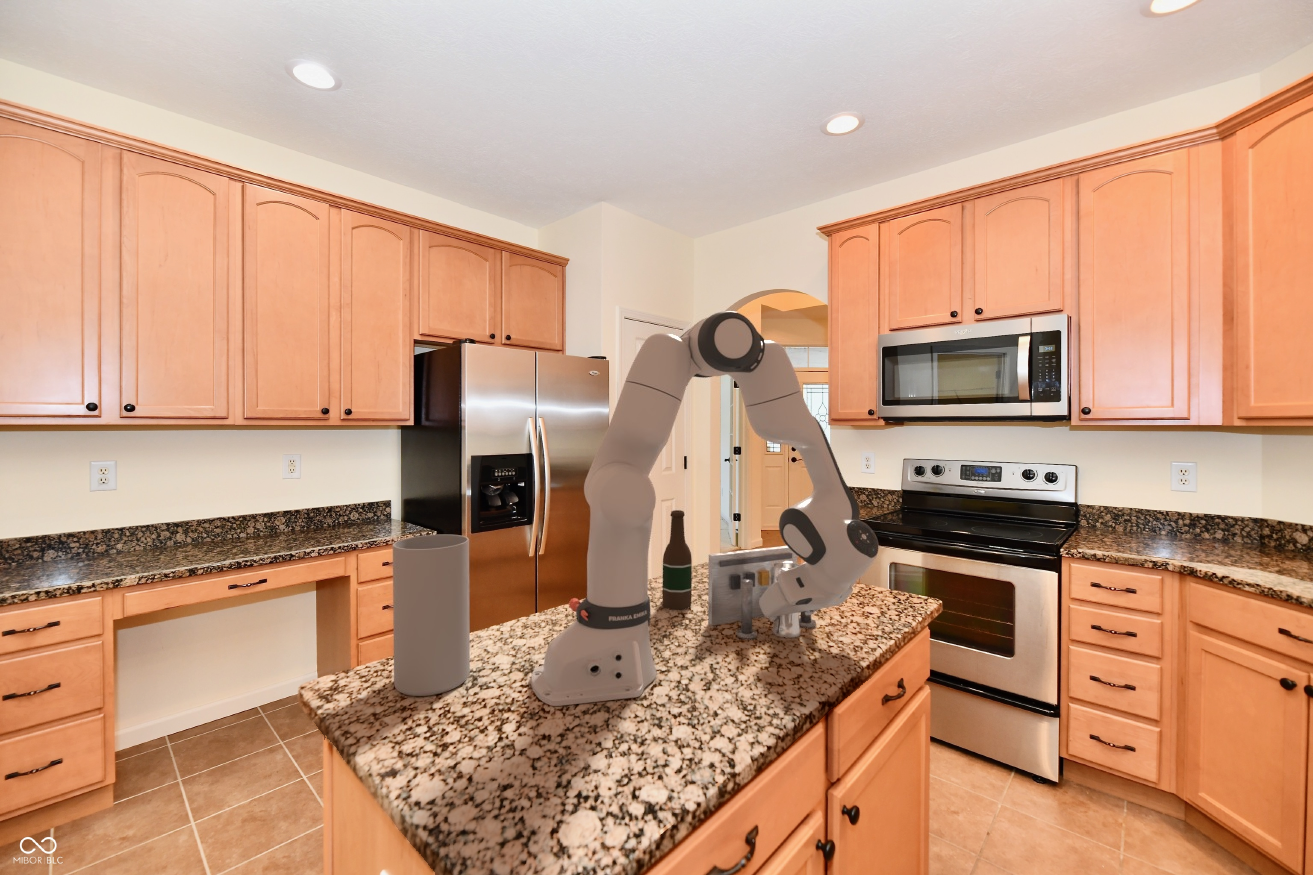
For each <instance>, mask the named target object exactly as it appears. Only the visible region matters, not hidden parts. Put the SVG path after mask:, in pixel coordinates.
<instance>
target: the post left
mask: <svg viewBox="0 0 1313 875" xmlns="http://www.w3.org/2000/svg"><path fill="white" fill-rule="evenodd" d="M752 611H753V581H752V580H748V579H744V580H742V583H741V621H740V628H739V629H737V630H736V637H737V638H739V639H741V640H744V639H747V641H748V640H749V639H750V640H751V639H752V640H755V639H757V638H758V632H757V630H755V629H753V619H752ZM750 640H749V641H750Z"/></svg>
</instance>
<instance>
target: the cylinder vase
mask: <svg viewBox="0 0 1313 875" xmlns="http://www.w3.org/2000/svg"><path fill="white" fill-rule="evenodd" d="M392 591H393V592H392V596H393V597H392V598H393V599H392V603H393V604H392V606H393V608H392V609H393V610H392V611H393V618H392V619H393V625H392V626H393V685H394V687H395V689H396V690H397V691H398V692H400V693H401V694H403V695H407V696H413V697H427V696H434V695H438V694H443V693H446V692H448V691H452V690H453V689H455V688H457V687H459V686H461V685H462V684H463V683H464V682H465V681H466V680H467V679H468V677H469V676H470V673H471V671H470V670H471V669H470V668H471V667H470V666H471V664H470V663H471V661H470V659H471V657H470V656H471V654H470V650H471V649H470V647H471V645H470V642H471V641H470V639H471V638H470V637H471V636H470V633H471V632H470V630H471V629H470V627H471V626H470V539H469V537H467V536H465V535H459V534H427V535H426V534H425V535H419V536H418V535H417V536H412V537H407V538H403V539H400V540H397V541H394V542H393V543H392Z"/></svg>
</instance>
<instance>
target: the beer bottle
mask: <svg viewBox="0 0 1313 875" xmlns="http://www.w3.org/2000/svg"><path fill="white" fill-rule="evenodd" d="M669 516H670V517H671V521H670V536H669V542H668V544H667V545H666V546H665V549H664V552H663V556H662V606H663V607H664V608H666V609H668V610H673V611H678V610H679V611H683V610H686V609H690V608H691V607H692V595H693V594H692V591H693V589H692V586H693V585H692V584H693V583H692V581H693V580H692V579H693V577H692V574H693V572H692V570H693V569H692V566H693V565H692V564H693V561H692V559H693V558H692V552H691V549H690V547H689V545H688V544H687V542H686V538H685V521H684V520H685V519H684V517H685V512H684V510H680V509H678V510H677V509H674V510H671V512H670V515H669Z"/></svg>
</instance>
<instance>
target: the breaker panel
mask: <svg viewBox="0 0 1313 875" xmlns="http://www.w3.org/2000/svg"><path fill="white" fill-rule="evenodd" d="M775 562H794V563H798V555H796V554H795V553H794V552H793V551H792V550H791V549H790V548H789V547H788V546H787V545H783V546H774V547H764V548H754V549H747V550H738V551H729V552H728V551H727V552H720V553H719V552H718V553H710V554H708V595H707V596H708V599H707V600H708V603H707V605H708V606H707V608H708V609H707V613H708V614H707V616H708V619H707V620H708V621H707V622H708V623H707V624H708V625H709V626H713V627H714V626H718V625H726V624H731V623H736V622H741V583H742V580H744V579H748V580H752V581H753V611H752V620H754V619H760V618H765V617H764V616H765V615H764V614H763V612H762V610H761V607H760V605H759V600H760V598H761V597H762V595H763V594H764V593H765V591H766V590H767V589H768V588H769V587H770V586H771V574H772V564H773V563H775Z"/></svg>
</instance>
